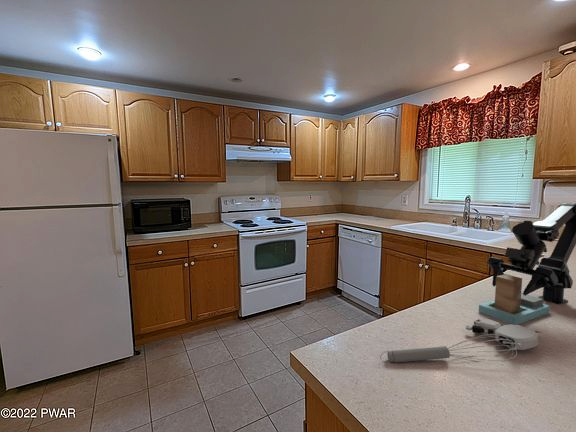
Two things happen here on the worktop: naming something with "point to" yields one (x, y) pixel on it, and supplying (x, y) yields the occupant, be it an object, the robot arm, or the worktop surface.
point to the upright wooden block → (508, 293)
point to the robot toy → (507, 333)
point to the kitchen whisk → (437, 352)
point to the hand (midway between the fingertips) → (507, 289)
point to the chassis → (528, 310)
